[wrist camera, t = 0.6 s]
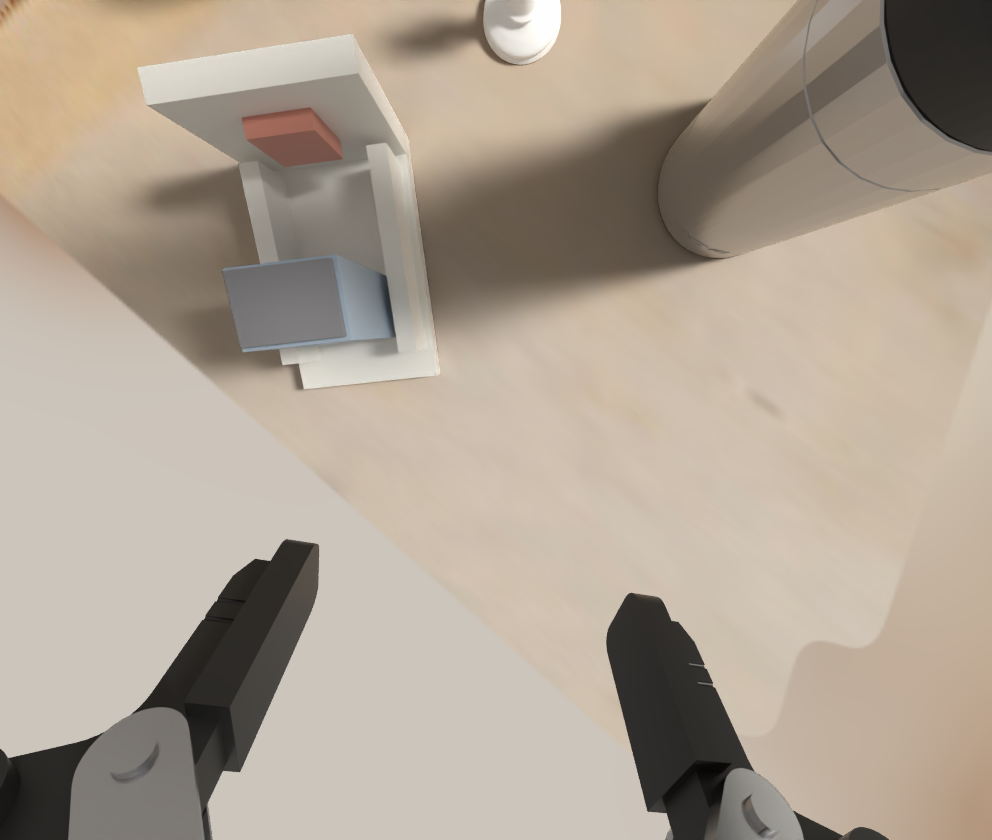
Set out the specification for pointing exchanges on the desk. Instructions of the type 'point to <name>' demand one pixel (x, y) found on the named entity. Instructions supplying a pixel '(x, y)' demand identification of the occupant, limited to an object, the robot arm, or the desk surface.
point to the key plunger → (308, 303)
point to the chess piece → (521, 28)
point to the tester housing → (316, 181)
